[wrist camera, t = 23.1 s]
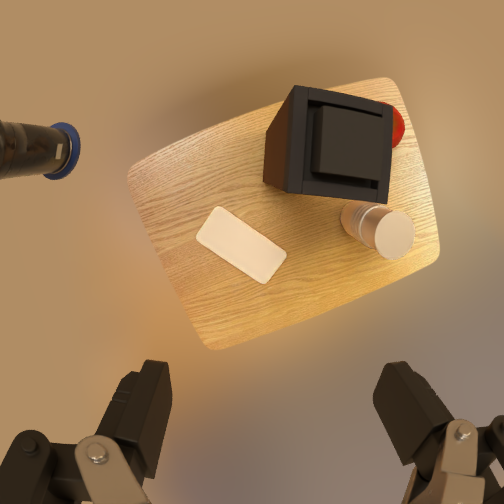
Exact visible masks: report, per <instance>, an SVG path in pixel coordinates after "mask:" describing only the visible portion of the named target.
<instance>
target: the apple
mask: <svg viewBox="0 0 504 504" xmlns="http://www.w3.org/2000/svg"><path fill="white" fill-rule="evenodd" d="M377 102H379V101H377ZM381 103H384V104H387V103H385V102H381ZM388 105H389V104H388ZM391 106H392V105H391ZM404 131H405V125H404V120H403V118H402V116H401V114H400V113H399V112H398V110H397V109H396V108H395V107H394V106H393V137H392V148H394V147H396V146H397V145H398V144H399V142H400V141H401V139H402V137H403V134H404Z"/></svg>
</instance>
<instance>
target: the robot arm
mask: <svg viewBox="0 0 504 504" xmlns="http://www.w3.org/2000/svg"><path fill="white" fill-rule="evenodd" d="M72 151H73V142H72V138H71V136H70V134H69V133H68V132H67V131H66V130H65V129H61V128H52V127H45V126H38V125H30V124H22V123H12V122H2V121H1V120H0V179H6V178H13V177H21V176H30V175H40V174H56V173H59V172H61V171H62V170H63V169H65V167H66V166H67V165H68V163H69V161H70V159H71V156H72ZM373 404H374V407H375V409H376V411H377V413H378V414H379V417H380V419H381V421H382V423H383V425H384V427H385V429H386V431H387V433H388V435H389V437H390V439H391V441H392V443H393V445H394V447H395V449H396V451H397V454H398V456H399V458H400V460H401V462H402V464H403V466H404V465H407V464H410V463H413V462H414V463H415V465H416V466H415V467H414V469H413V471H412V474H411V477H410V480H409V483H408V486H407V490H406V492H405V495H404V498H403V501H402V503H401V504H504V487H503V488H501V487H500V486H499V484H498V482H497V480H496V478H495V476H494V474H493V473H492V471H491V469H490V467H489V466H490V464H491V463H492V462H493V461H494V460H495V459H496V458H497V459H498V461H499V463H500V464H501V466H502V468H503V470H504V415H500V416H497V417H495V418H494V420H493V421H492V423H491V424H490V425H489V426H487V427H479V428H476V427H475V426H474V425H473V424H472V423H471V422H469V421H467V420H464V419H456V420H455V419H454V418H453V416H452V415H451V413H450V412H449V410H448V409H447V408H446V406H445V405H444V404H443V402H442V401H441V400H440V398H439V397H438V395H437V396H436V393H435V391H434V390H433V389H431V386H430V385H429V383H428V382H427V381H426V379H425V378H423V377H422V376H421V375H419V374H418V373H416V372H413V370H412V369H411V367H410V366H409V365H408V363H406V362H405V361H400V362H393V363H387V364H386V365H385V366H384V368H383V371H382V373H381V376H380V379H379V381H378V383H377V386H376V388H375V390H374V393H373ZM171 406H172V388H171V382H170V374H169V367H168V363H167V362H162V361H154V360H146V361H145V362H144V364H143V366H142V369H141V371H140V372H134V371H131V372H130V373H129V374H127V375H126V376H125V377H124V378H122V379H121V381H120V383H119V385H118V387H117V389H116V392H115V393H114V395H113V397H112V401H110V404H109V406H108V408H107V410H106V412H105V414H104V416H103V418H102V420H101V423H100V425H99V427H98V429H97V431H96V433H95V434H94V435H93V436H89V437H86V438H84V439H82V440H81V441H80V442H79V443H78V444H60V443H50V442H49V440H48V439H47V438H46V436H45V435H44V434H42V433H41V432H39V431H35V430H26V431H23V432H21V433H19V434H18V435H17V436H16V437H15V439H14V440H13V442H12V444H11V446H10V448H9V450H8V452H7V454H6V456H5V458H4V460H3V462H2V464H1V466H0V504H81V502H82V501H90V502H93V504H151V502H150V500H149V499H148V498H147V496H146V494H145V492H144V491H143V489H142V485H143V481H144V477H146V478H151V479H154V478H155V473H156V469H157V464H158V460H159V456H160V452H161V447H162V443H163V439H164V435H165V431H166V427H167V423H168V419H169V415H170V411H171Z"/></svg>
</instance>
